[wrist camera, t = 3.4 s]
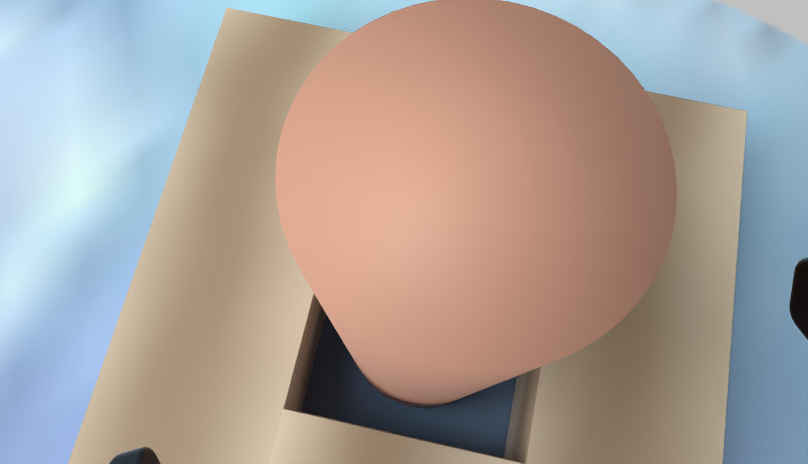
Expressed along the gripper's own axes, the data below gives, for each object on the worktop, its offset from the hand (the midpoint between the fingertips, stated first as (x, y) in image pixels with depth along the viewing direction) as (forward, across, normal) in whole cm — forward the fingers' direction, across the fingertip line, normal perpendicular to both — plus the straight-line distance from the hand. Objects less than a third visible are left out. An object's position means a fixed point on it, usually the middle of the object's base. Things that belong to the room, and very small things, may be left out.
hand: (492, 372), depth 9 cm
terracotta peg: (+8, 0, +5) cm, 9 cm away
